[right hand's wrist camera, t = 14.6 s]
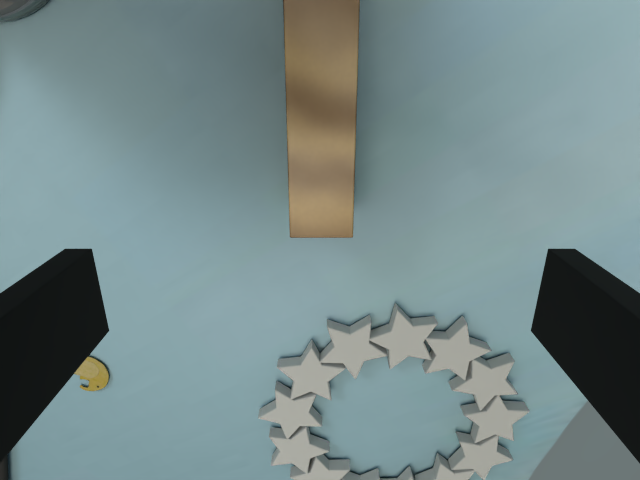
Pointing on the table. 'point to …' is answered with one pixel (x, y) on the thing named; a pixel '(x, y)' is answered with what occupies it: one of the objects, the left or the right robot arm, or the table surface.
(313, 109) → the beam
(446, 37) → the table surface
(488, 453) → the decorative wreath
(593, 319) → the right robot arm
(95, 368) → the bottle opener
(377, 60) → the table surface
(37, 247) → the table surface
